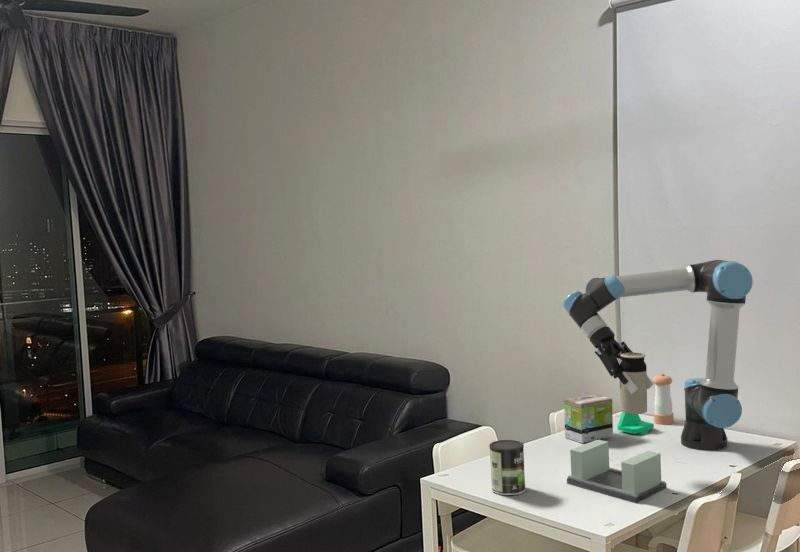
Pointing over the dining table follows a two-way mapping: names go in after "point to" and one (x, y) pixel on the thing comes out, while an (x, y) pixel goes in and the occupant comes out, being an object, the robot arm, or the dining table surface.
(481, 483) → the dining table surface
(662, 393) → the pepper shaker
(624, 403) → the travel mug
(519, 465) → the coffee can
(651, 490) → the rail plate
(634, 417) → the camera mount
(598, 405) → the tea box
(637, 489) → the grey block holder
